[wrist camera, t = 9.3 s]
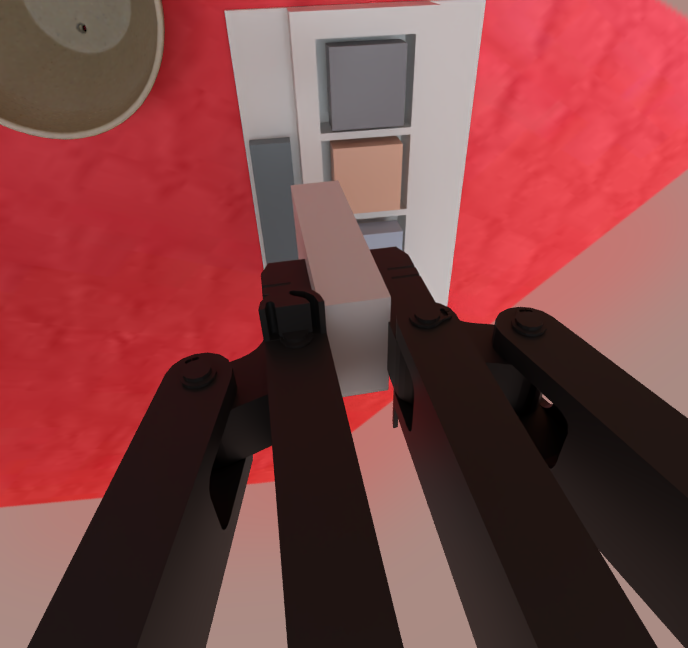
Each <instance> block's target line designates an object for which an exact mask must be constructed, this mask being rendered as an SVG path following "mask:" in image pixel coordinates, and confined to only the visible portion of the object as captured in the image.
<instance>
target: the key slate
mask: <svg viewBox="0 0 688 648" xmlns="http://www.w3.org/2000/svg"><path fill="white" fill-rule="evenodd" d="M358 225H359V227H360V230H361V232H362V234H363V236H364V239H365V241H366V243H367V245H368V247H369V250H370V249H378V248H387V247H395V246H396V247H397V248H399V249H401V250H402V240H403V230H402V229H401V227H400V225H399V223H398V221H397V220H392V221H381V222H370V223H359V224H358Z"/></svg>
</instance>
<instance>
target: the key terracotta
mask: <svg viewBox="0 0 688 648" xmlns="http://www.w3.org/2000/svg"><path fill="white" fill-rule="evenodd" d="M402 154H403V143H402V142H401V141H400V139H399V138H398V137H397V136H384V137H370V138H357V139H344V140H331V141H330V156H331V178H332V181H337V180H338V181H339V183H340V185H341V188H342V190H343V192H344V194H345V196H346V199H347V201H348V203H349V205H350V208H351V210H352V212H353V214H358V213H369V212H380V211H391V210H400V198H401V176H402Z"/></svg>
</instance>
